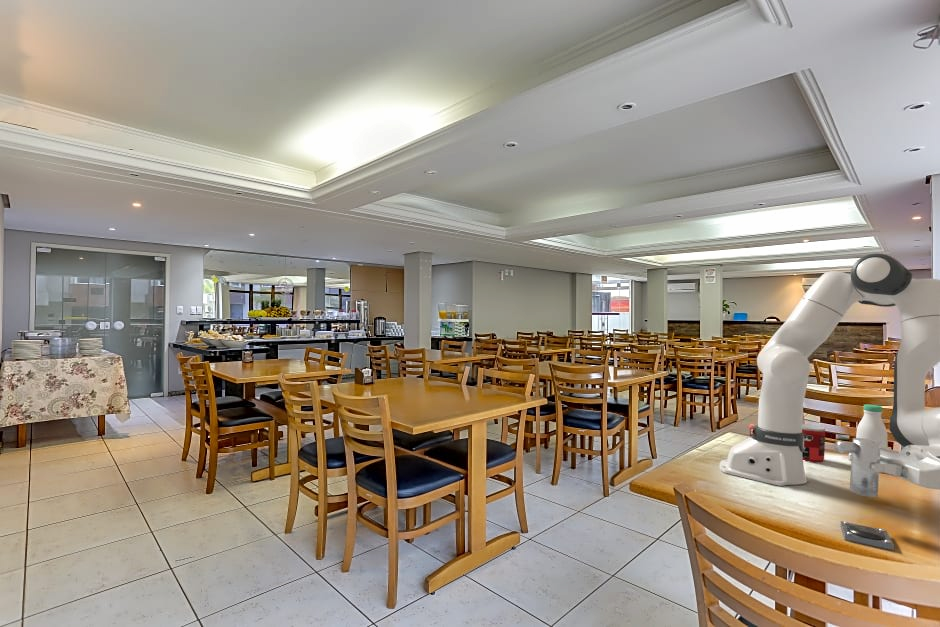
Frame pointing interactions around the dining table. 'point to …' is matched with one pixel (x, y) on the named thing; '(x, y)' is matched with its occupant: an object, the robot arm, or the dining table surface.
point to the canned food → (813, 443)
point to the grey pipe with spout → (862, 465)
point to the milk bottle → (872, 425)
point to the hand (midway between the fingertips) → (861, 462)
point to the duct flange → (866, 535)
